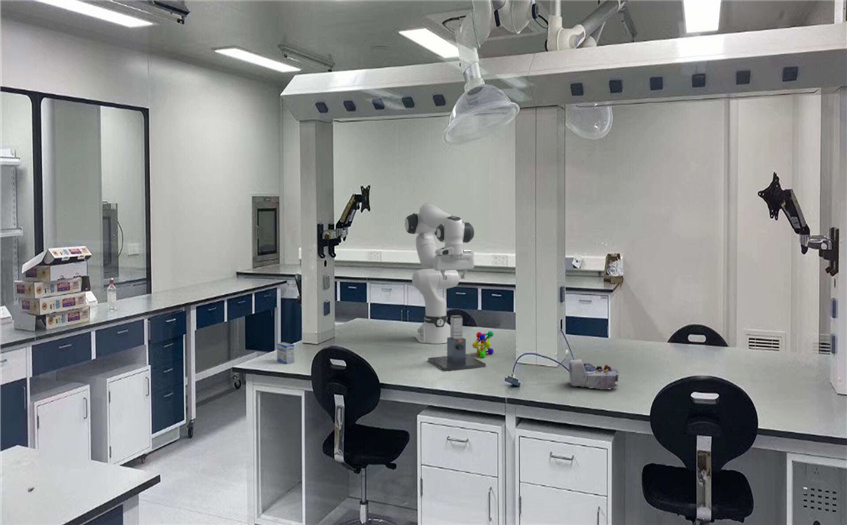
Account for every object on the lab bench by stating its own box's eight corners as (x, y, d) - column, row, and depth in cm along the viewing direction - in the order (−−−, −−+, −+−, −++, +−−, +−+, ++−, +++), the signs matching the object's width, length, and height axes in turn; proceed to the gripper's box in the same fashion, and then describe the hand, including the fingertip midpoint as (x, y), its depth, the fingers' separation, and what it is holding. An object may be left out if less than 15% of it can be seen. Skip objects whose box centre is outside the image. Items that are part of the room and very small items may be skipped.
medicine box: (277, 361, 311) (276, 343, 310) (284, 359, 314) (284, 341, 313) (286, 364, 305) (286, 345, 304) (294, 362, 308) (294, 344, 308)
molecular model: (484, 358, 314) (484, 334, 313) (471, 356, 318) (471, 333, 317) (495, 354, 323) (495, 331, 323) (482, 352, 327) (483, 329, 327)
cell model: (567, 355, 275) (616, 357, 273) (566, 380, 276) (615, 383, 274) (570, 363, 262) (622, 365, 260) (569, 389, 263) (621, 392, 261)
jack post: (450, 351, 305) (450, 315, 304) (458, 350, 307) (458, 315, 305) (454, 353, 301) (454, 317, 300) (462, 352, 303) (462, 316, 301)
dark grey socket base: (428, 361, 310) (427, 335, 309) (466, 357, 318) (466, 332, 316) (445, 371, 292) (445, 344, 290) (485, 366, 299) (485, 340, 298)
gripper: (470, 249, 323) (470, 277, 325) (432, 250, 316) (432, 279, 317) (476, 250, 317) (476, 279, 319) (437, 251, 310) (437, 281, 311)
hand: (453, 279), depth 318 cm, fingers open, 8 cm apart
